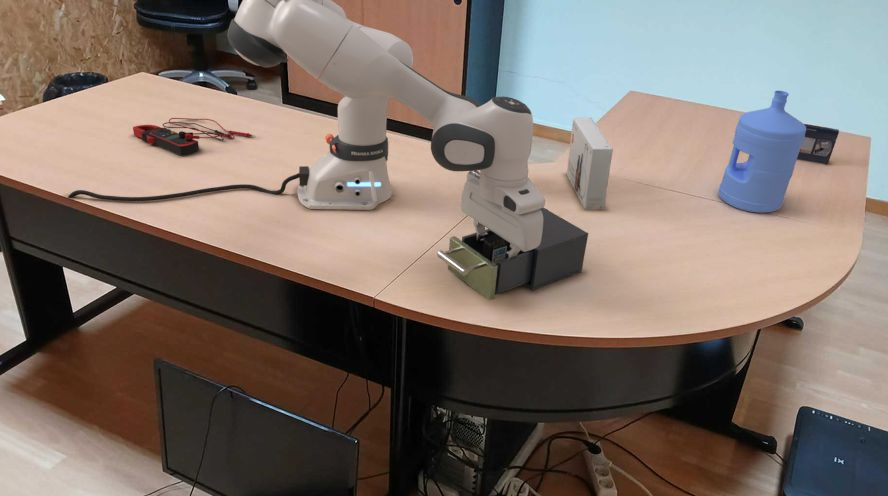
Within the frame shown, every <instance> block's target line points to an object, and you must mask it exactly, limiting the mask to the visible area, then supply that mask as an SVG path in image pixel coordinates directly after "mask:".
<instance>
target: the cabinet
mask: <svg viewBox="0 0 888 496" xmlns="http://www.w3.org/2000/svg"><path fill="white" fill-rule="evenodd" d="M540 210H541V212H542V214H543V231H542V238H541V243H540V245H539V246H538V247H537V248H535V249H533V251H534V252H535V257H534V265H533V272H532V279H531V282H528V283H526V284H523V285H524V286H526V287H527V288H529V289H530V290H531V291H535V290H538V289H540V288H543V287H547V286H548V285H551V284H553V283H557V282H559V281H562V280H564V279H567V278H570V277H572V276H575V275H577V274H579V273H582V272H583V266H584V261H585V254H586V250H587V244H588V238H589V232H587V231H585V230H583V229H582V228H580V227H578V226H577V225H575V224H573V223H571V222H569V221H568V220H566V219H565V218H562V217H561V216H559V215H557V214H555V213H554V212H552V211H550V210H549V209H547V208H545V207H543V208H541V209H540Z"/></svg>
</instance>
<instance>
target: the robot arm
mask: <svg viewBox="0 0 888 496" xmlns="http://www.w3.org/2000/svg"><path fill="white" fill-rule="evenodd" d="M226 37H227V39H228V42H229V45H230V46H231V47H232V48H233V49H234V51H235V52H236V53H237V54H238V55H239V56H240V57H241V58H242V59H243V60H244V61H246V62H247V63H249V64H252V65H255V66H259V67H260V66H261V67H262V68H273V67H277V66H278V65H279V64H281V63H285V64H286V63H287V62H289V59H288V57H289V58H290V59H291V60H292V61H293V62H294V63H296V64H297V65H298V66H299V67H301V69H302V70H304V71H305V72H306V73H308V74H309V75H310V76H312V77H313V78H315V80H318V81H319V82H320V83H321V84H323V85H324V86H326V87H327V88H328V89H330V90H332V91H334V92H335V93H338V94H340V95H342V96H344V97H343V98H342V99H340V101H339V103H338V105H337V134H336V136H334V134H332V133H327V134H326V135H325V137H324V139H325V142H326V143H327V145H329V151H328V152H327V153H325V154H324V155H322V156H321V157H320V158H318V159H317V160H316V161H315V162H313V163H312V164H311V165H309V166H307V165H306V166H305V165H304V166H299V168H298V169H299V170H298V173H296V174H293V175H290V176H289V177H286V178H285V179H284V180H283V181H282V183H281V185H280V189H277V190H270V189H267V188H263V187H261V186H259V185H254V184H245V183H244V184H230V185H222V186H214V187H207V188H201V189H196V190H190V191H184V192H183V191H182V192H177V193H168V194H162V195H151V196H120V195H119V196H116V195H105V194H100V193H95V192H91V191H88V190H83V189H78V190H77V189H76V190H74V191H72V192H71V193H70V194H68V196H67V199H73V198H75V197H76V196H80V195H83V196H87V197H91V198H94V199H97V200H104V201H115V202H116V201H117V202H154V201H161V200H163V201H164V200H170V199H178V198H184V197H185V198H186V197H191V196H196V195H202V194H208V193H214V192H222V191H229V190H241V189H243V190H246V189H247V190H249V189H250V190H255V191H258V192H261V193H265V194H269V195H274V196H275V195H277V196H278V195H282V194H283V193H284V192H285V191H286V188H287V184H289V183H290V182H291V181H294V180H297V179H299V184H298V186H297V188H296V189H297V192H296V193H297V198H298V201H299V202H300V204H301V205H302V206H304V208H307V209H310V210H353V211H354V210H358V211H360V210H361V211H364V210H365V211H370V210H373V209H375V208H376V207H378V205H380V204H382V203H384V202H387V200H390V198H391V197H392V196H393V190H392V187H391V183H390V182H391V181H390V177H389V170H388V160H389V159H388V158H389V138H388V136H387V122H388V120H387V119H388V109H389V108H388V107H389V104H390V100H391V99H394V100H395V101H396V102H399V103H400V104H402V105H403V106H404V107H406V108H409V109H410V110H412V111H413V112H415V113H416V114H418V115H419V116H421V117H423V118H424V119H425V120H426V121H428V122H429V124H430V126H431V127H432V129H433V131H432V135H431V140H430V152H431V154H432V155H431V156H432V157H433V159H434V160H435V162H436V163H437V164H438V165H439V166H440V167H441V168H443V169H445V170H448V171H451V172H467V174H466V181H465V182H464V185H463V188H462V193H461V199H460V208H461V211H462V214H465V215H466V216H468V217H469V218H470V219H472V220H473V226H474V230H475V233H477V236H476V240H478V241H479V242H481V243H483V242H484V240H485V238H487V237H488V233H487V232H486V229H489V230H491V231H492V232H494V233H496V234H497V235H499V236H500V237H502V238H503V239H505V240H506V241H508V242H509V243H510V247H511V248H512V249H511V250H510V251H507V252H506V254H505V256H506V257H505V259H508V258H511V257H514V256H517V253H519V251H520V250H522V251H523V252H526V251H530V250H533V249H535V248H537V247H538V246H539V245H540V243H541V238H542V231H543V214H542V212H541V210H540V209H541V208H545V206H546V197H545V196H544V195H543V194H542V193H541V192H540V191H539V190H538V188H537V187H536V186H535V185H534V183H533V182H532V180H531V179H530V178H529V166H528V163H529V162H528V160H529V158H530V155H531V152H532V147H533V137H534V136H533V135H534V118H533V114H532V111H531V109H530V108H529V107H528V105H527V104H526V103H524V102H523V101H520V100H519V99H516V98H514V97H509V96H494V97H492V98H491V99H490V100H489V101H487V102H484V104H481V103H480V102H478V101H477V100H476V99H474V98H472V97H470V96H466V95H464V94H459V93H454V92H451V91H448V90H446V89H444V88H442V87H440V86H439V85H438V84H436V83H435V82H433V81H432V80H430V79H428V78H427V77H425V76H424V75H422V74H420V72H418V71H417V70H415V69H413V67H414V55H413V54H414V53H413V50H412V48H411V46H410V45H409V43H407V42H406V41H404V40H403V39H401V38H400V37H398V36H397V35H394V34H392V33H390V32H387V31H383V30H380V29H376V28H372V27H370V26H365V25H362V24H360V23H357V22H354V21H352V20H350V19H348V17H347V14H346V12H345V10H344V9H343V7H342V6H340V5H338V4H337V3H336V2H335V1H333V0H242V1H241V3H240V5H239V7H238V10H237V12H236V14H235V17H234V18H232V19H231V21H230V23H229V27H228V30H227V33H226ZM287 56H288V57H287Z"/></svg>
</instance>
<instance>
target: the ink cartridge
mask: <svg viewBox="0 0 888 496" xmlns="http://www.w3.org/2000/svg"><path fill="white" fill-rule="evenodd" d="M509 248H510V243H509V242H508V241H506V240H505V239H503V238H502V237H500V236H499V235H497V234H495V235H492V236H491V235H490V236H488V237H487V238H485V240H484V245H483V254H482V256H484V257H485V258H487V259H488V260H490V261H491V262H493V263H494V264H495V265H497V266H498V262H499V261H502V260H505V257H506V256H505V254H506V252H507V251H509ZM497 269H498V268H497Z"/></svg>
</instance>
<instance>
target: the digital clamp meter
mask: <svg viewBox="0 0 888 496" xmlns="http://www.w3.org/2000/svg"><path fill="white" fill-rule="evenodd" d="M171 120H189V121H191V120H192V121H211V122H214V123H216V125H218V126H219V128H220V129H222V130H223V131H224V132H226V133H224V132H222V131H219V130H217V129H212V128H209V127H206V126H203V125H201V124H199V123H196V122H189V123H188V122H183V121H171ZM168 124H170V125H175V126H166V125H168ZM182 124H183V125H182ZM184 124H185V125H195V126H198V127H201V128H203V129H207V130H210V131H206V130H200V129H199V128H195V127H188V126H185V125H184ZM162 126H163V127H161V126H158V125H155V124H139V125H135V126H133V127H132V130H133V131H132V132H133V135H134V136H135V137H138V138H140V139H142V140H141V141H143V142H146V143H147V144H149V145H151V144H152V145H154V146H157V147H159V148H161V149H164V150H166V151H168V152H171V153H173V154H175V155H178V156H180V157H184V156H190V155H193V154H197V152H199V151H200V146H199V141H198V140H200V139H216V140H219V141H224V140H225V139H224V138H227V139H230V140H236V137H235V135H237V136H244V137H247V138H249V137H257V135H253V134H250V132H240V131H236V130H235V131H234V130H226V129H225V128H224V127H223V126H222V125H221V124H220V123H218V122H217V121H215V120H214V119H210V118H187V117H170V118H169V120H168V122H167V121H166V122H164V123H162ZM171 129H188V130H192V132H187V131H182V130H181V131H179V132H176V131H173V130H171ZM193 131H196V132H197V133H196V132H195V133H194V132H193ZM200 135H207V136H200ZM219 137H221V138H219Z"/></svg>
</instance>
